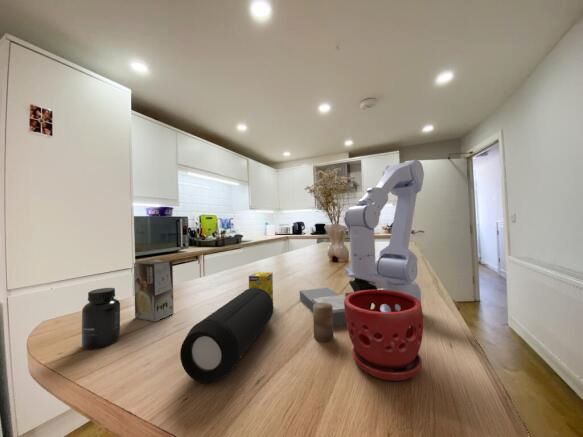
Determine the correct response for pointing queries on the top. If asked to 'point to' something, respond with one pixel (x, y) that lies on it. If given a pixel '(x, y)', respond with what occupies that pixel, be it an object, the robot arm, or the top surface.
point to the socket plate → (316, 293)
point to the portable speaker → (225, 335)
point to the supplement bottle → (100, 319)
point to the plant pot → (385, 333)
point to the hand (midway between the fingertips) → (364, 310)
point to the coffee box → (153, 289)
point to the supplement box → (262, 281)
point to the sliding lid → (333, 302)
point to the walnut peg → (323, 322)
